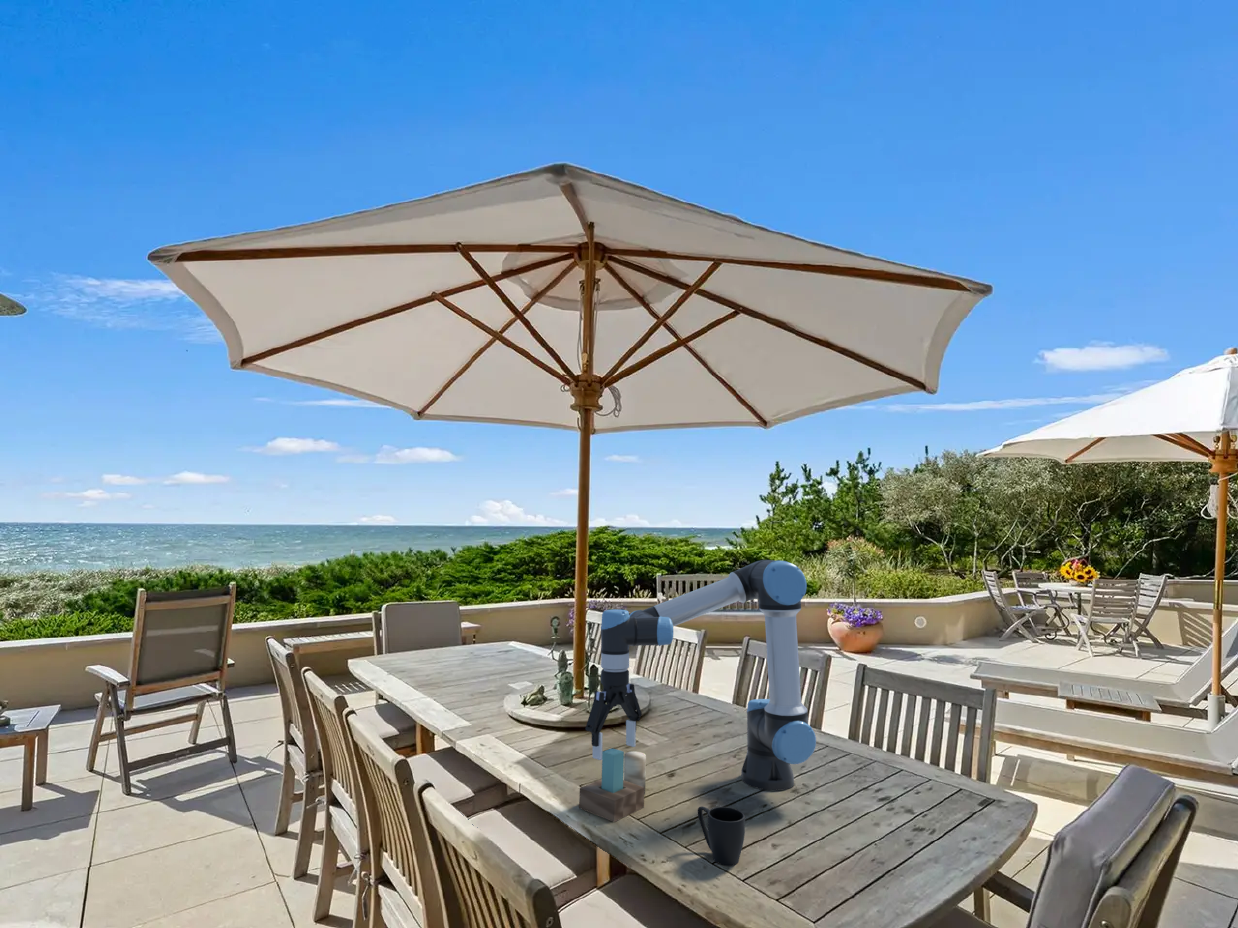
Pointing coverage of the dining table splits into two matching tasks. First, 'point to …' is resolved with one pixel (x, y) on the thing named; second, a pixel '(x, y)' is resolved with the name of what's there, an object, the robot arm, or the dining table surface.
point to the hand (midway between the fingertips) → (614, 751)
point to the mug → (723, 833)
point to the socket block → (611, 800)
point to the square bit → (612, 770)
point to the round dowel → (635, 768)
